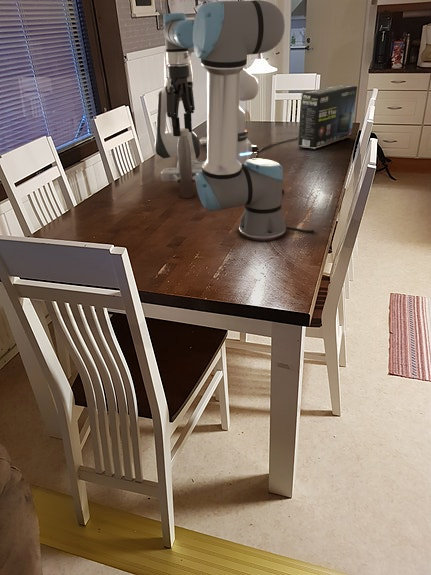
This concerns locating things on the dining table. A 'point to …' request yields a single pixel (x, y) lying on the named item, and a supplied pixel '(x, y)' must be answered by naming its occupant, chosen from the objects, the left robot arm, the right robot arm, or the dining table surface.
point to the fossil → (203, 140)
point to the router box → (326, 115)
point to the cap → (184, 132)
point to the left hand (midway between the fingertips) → (186, 180)
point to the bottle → (185, 167)
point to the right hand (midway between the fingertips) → (182, 133)
